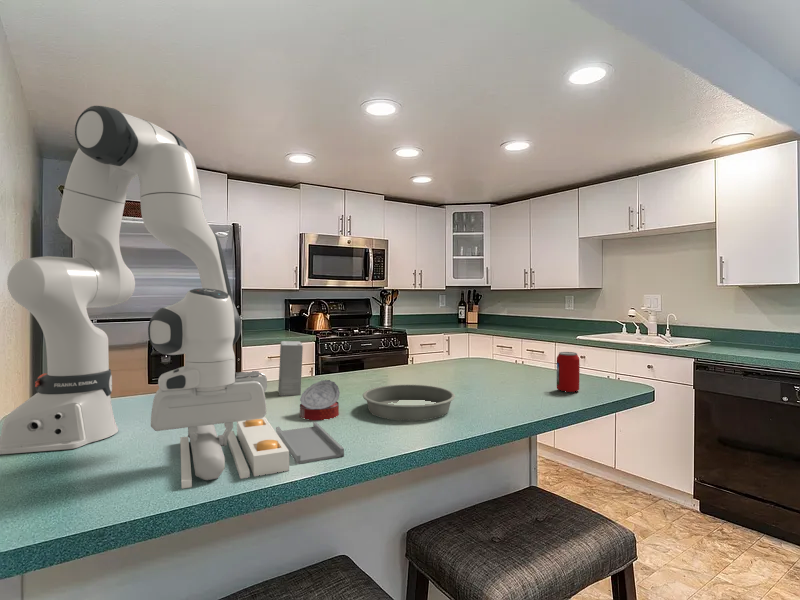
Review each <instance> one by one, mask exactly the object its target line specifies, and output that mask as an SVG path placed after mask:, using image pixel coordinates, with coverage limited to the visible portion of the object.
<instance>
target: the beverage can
mask: <svg viewBox="0 0 800 600" xmlns="http://www.w3.org/2000/svg"><path fill="white" fill-rule="evenodd" d="M580 368H581V367H580V358H579V356H578V353H577V352H574V351H573V352H572V351H560V352H559V353H558V355H557V356H556V389H557V390H559V391H560V390H561V391H566V392H565V393H567V392H574V393H576V392H578V391H580V374H581V373H580ZM561 391H560V392H561ZM575 391H576V392H575Z"/></svg>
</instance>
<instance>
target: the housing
mask: <svg viewBox="0 0 800 600" xmlns="http://www.w3.org/2000/svg"><path fill="white" fill-rule="evenodd" d="M262 419H263V425H260V426H252V427H245V421H238V422H236V433H235V431H234V430H231V432H230V434H229V435H228V437H227V445H228V447H229V449H230V453H231V455H232V458H233V461H234V464H235V468H236V471H237V473H238V476H239V479H240V480H241V479H243V480H244V479H247V478H248V477H249V478H250V470H251V472H252V475H253V477H259V475H260V476H265V474H266V475H271V474H276V473H277V472H278V473H282V472H283V471H284V472H288V471H290V453H289V450H288V449H287V447H286V446H285V444H284V443H283V442H282V440H281V439H280V437H279V436H278V434H277V433H276V429H275V428H273V426H272V424H271V423H270V422H269V420H268V419H267V417H266V416H264V417H263V418H262ZM179 438H180V439H179V440H180V445H179V446H180V477H181V479H180V481H181V489H188V488H189V489H190V488H193V480H192V479H193V478H192V467H191V453H190V438H189V437H188V435H187V436H180V437H179ZM263 440H276V441H277V448H276V449H270V450H263V451H257V443H258V442H260V441H263ZM239 441H240V442H239ZM241 448H242V449H241ZM244 453H245V454H244ZM245 458H246V459H245ZM247 460H248V461H247ZM247 462H248V463H247ZM249 467H250V468H249ZM284 472H283V473H284ZM249 478H248V479H249Z"/></svg>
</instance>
